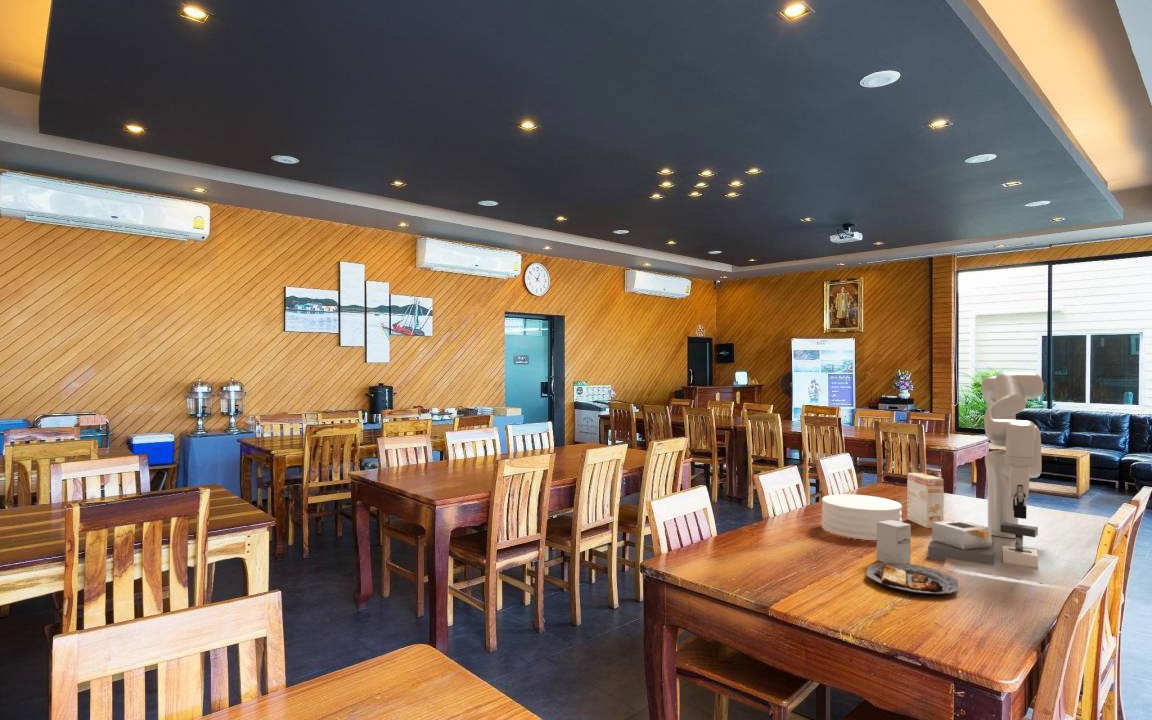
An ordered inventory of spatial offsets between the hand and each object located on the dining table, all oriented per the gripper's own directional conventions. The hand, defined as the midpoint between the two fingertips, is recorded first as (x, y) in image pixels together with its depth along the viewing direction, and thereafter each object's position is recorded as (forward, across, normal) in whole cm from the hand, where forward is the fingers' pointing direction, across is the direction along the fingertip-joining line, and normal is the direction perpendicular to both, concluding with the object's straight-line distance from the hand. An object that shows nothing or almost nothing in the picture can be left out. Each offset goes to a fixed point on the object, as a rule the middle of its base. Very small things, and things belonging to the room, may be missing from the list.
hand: (1019, 514), depth 200 cm
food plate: (+15, +41, -27) cm, 51 cm away
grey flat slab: (+16, +1, -16) cm, 23 cm away
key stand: (+16, +1, 0) cm, 16 cm away
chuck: (+12, +2, -15) cm, 19 cm away
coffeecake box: (+18, -42, -30) cm, 54 cm away
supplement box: (+16, +21, -34) cm, 43 cm away
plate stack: (+17, -14, -49) cm, 54 cm away
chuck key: (+15, +1, 0) cm, 15 cm away
